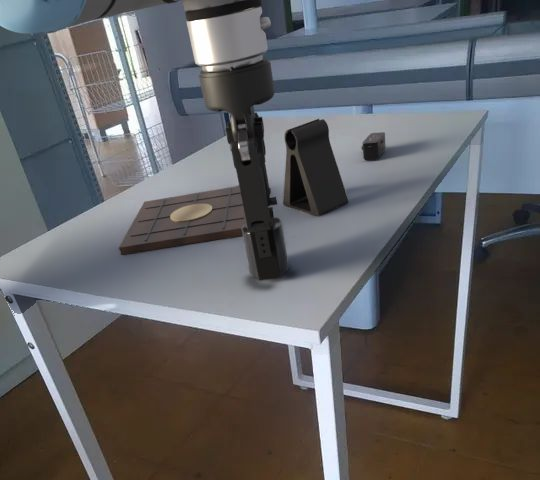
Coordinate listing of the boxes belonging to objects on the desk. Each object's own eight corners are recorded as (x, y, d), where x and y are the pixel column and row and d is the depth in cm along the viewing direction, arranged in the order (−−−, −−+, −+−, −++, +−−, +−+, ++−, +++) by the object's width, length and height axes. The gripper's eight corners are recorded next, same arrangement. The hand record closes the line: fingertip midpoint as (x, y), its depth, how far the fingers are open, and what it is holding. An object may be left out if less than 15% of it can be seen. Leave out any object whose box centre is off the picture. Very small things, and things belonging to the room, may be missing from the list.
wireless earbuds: (387, 148, 103) (386, 130, 101) (377, 161, 98) (376, 142, 96) (363, 149, 105) (362, 132, 103) (352, 162, 100) (351, 144, 98)
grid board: (121, 255, 82) (118, 246, 82) (146, 208, 99) (143, 200, 98) (251, 234, 80) (249, 225, 80) (254, 189, 97) (253, 182, 96)
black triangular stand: (283, 205, 88) (271, 127, 81) (311, 193, 90) (302, 116, 83) (319, 216, 81) (308, 133, 75) (348, 203, 84) (341, 121, 77)
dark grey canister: (249, 281, 68) (240, 236, 64) (250, 263, 72) (242, 220, 68) (289, 275, 67) (282, 229, 64) (288, 258, 71) (281, 214, 68)
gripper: (269, 68, 48) (302, 297, 62) (269, 45, 63) (296, 234, 76) (186, 84, 49) (237, 307, 62) (206, 57, 64) (244, 242, 77)
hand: (270, 266), depth 69 cm, fingers closed on dark grey canister, 5 cm apart
